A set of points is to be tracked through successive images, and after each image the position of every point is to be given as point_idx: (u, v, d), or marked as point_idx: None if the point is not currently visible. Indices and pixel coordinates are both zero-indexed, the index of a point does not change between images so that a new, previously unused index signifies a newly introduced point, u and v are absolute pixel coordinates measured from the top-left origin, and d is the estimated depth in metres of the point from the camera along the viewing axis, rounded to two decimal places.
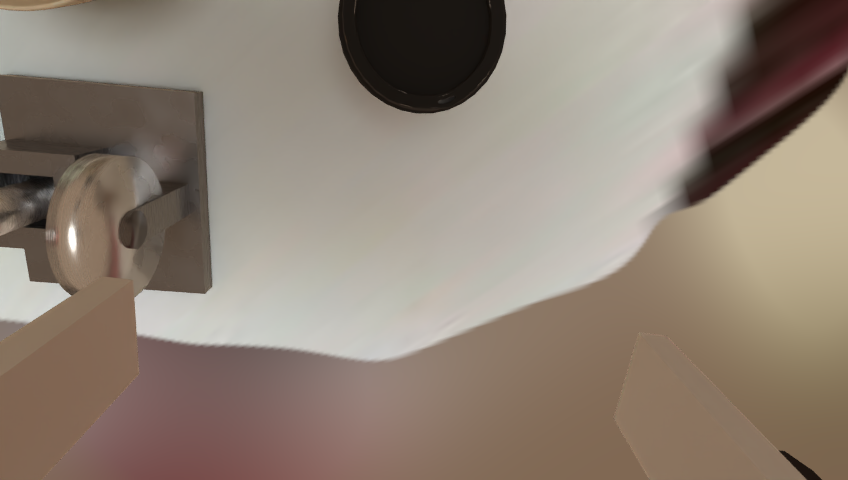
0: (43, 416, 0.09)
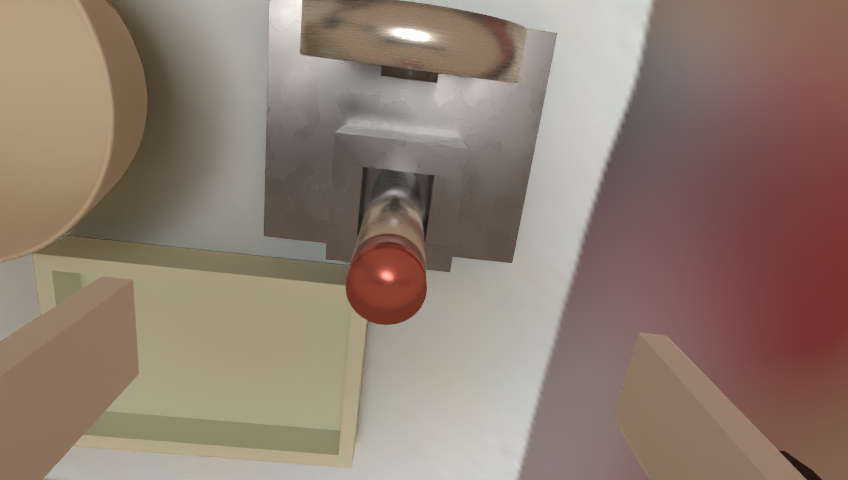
0: (43, 416, 0.09)
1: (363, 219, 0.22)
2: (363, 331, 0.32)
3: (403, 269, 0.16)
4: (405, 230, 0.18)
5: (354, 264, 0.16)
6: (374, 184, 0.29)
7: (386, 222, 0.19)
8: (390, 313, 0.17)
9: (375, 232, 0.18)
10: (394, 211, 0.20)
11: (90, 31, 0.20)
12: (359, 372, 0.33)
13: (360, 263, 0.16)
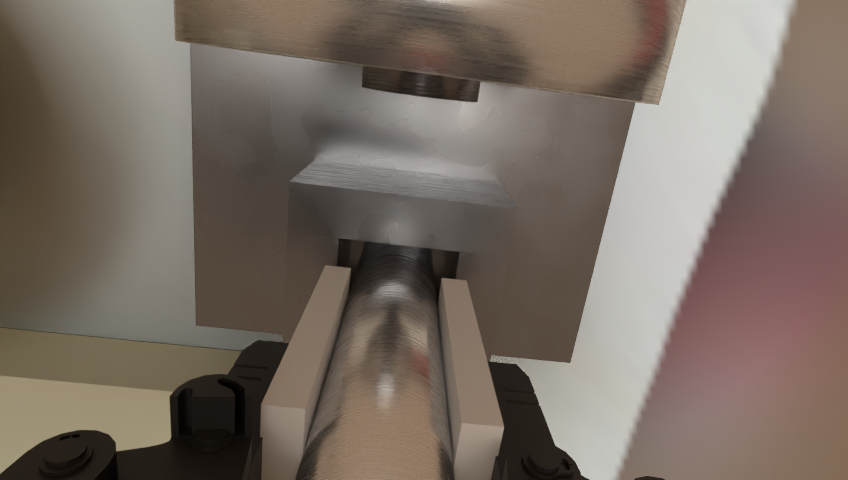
0: None
1: (330, 360, 0.12)
2: None
3: None
4: (410, 457, 0.08)
5: None
6: (361, 255, 0.18)
7: (368, 426, 0.08)
8: None
9: (337, 474, 0.07)
10: (388, 370, 0.10)
11: None
12: None
13: None
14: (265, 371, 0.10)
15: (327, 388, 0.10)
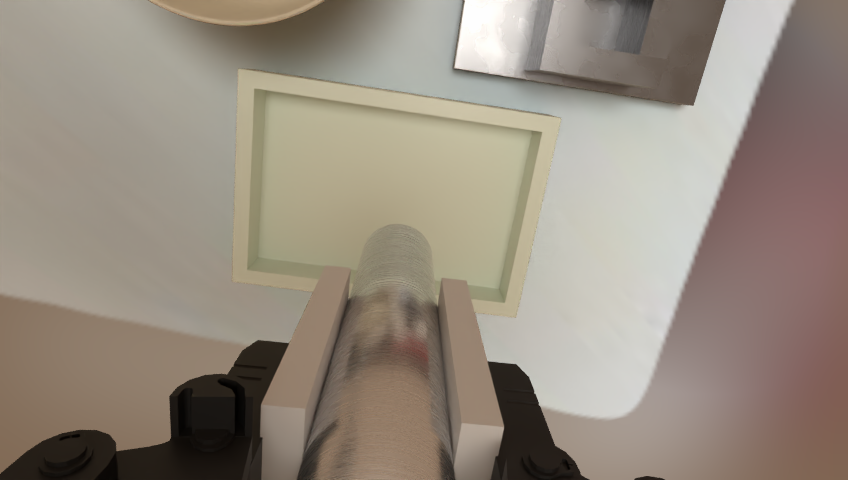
0: None
1: None
2: (548, 166, 0.32)
3: None
4: (411, 458, 0.08)
5: None
6: (361, 255, 0.18)
7: (369, 426, 0.08)
8: None
9: (337, 475, 0.07)
10: (388, 370, 0.10)
11: None
12: (538, 211, 0.33)
13: None
14: (265, 371, 0.10)
15: (328, 389, 0.10)
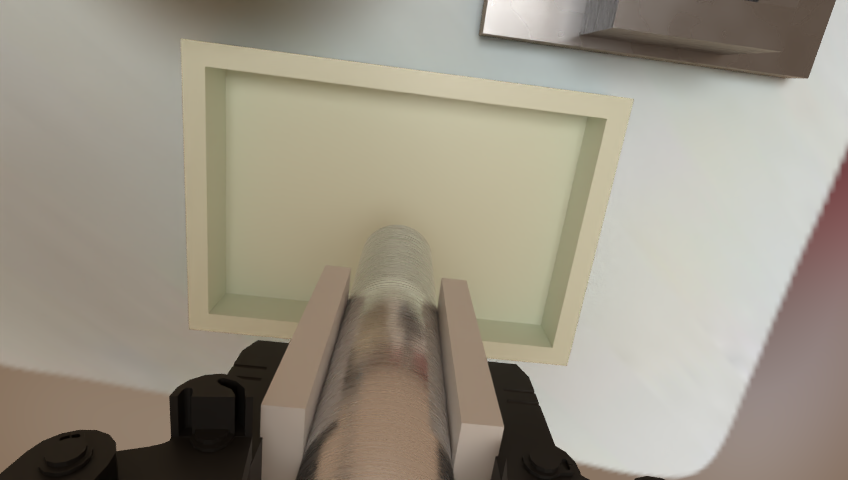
0: None
1: (330, 362, 0.12)
2: (614, 165, 0.23)
3: None
4: (410, 460, 0.08)
5: None
6: (361, 256, 0.18)
7: (367, 428, 0.08)
8: None
9: (337, 478, 0.07)
10: (387, 372, 0.10)
11: None
12: (599, 227, 0.24)
13: None
14: (265, 371, 0.10)
15: (327, 390, 0.10)
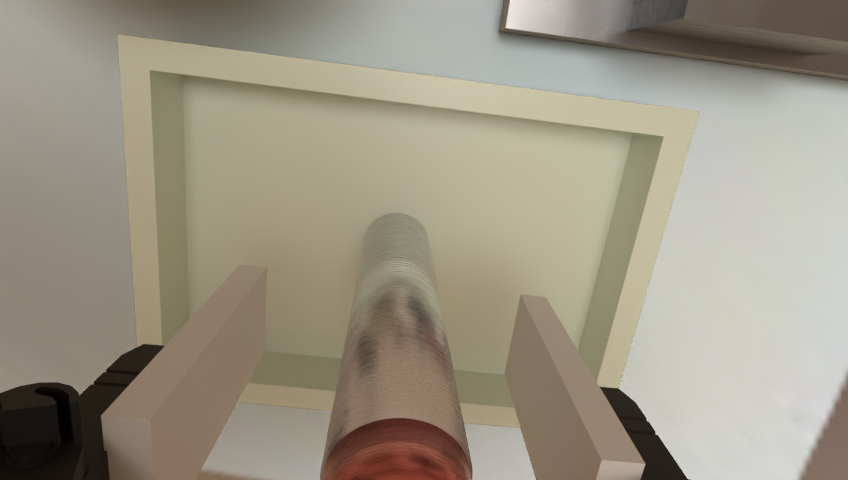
0: (224, 379, 0.11)
1: (348, 331, 0.13)
2: (671, 195, 0.18)
3: None
4: (429, 399, 0.09)
5: None
6: (364, 242, 0.20)
7: (392, 375, 0.10)
8: None
9: (371, 412, 0.09)
10: (403, 334, 0.11)
11: None
12: (649, 270, 0.19)
13: None
14: None
15: (350, 351, 0.12)
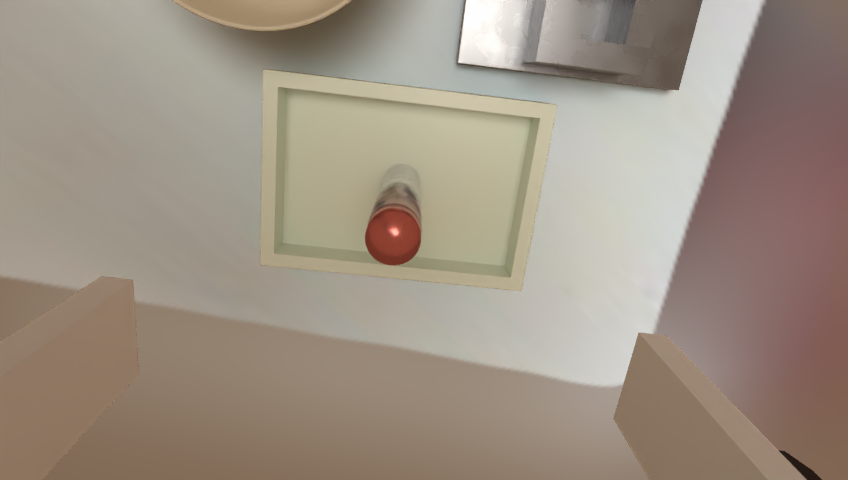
0: (43, 416, 0.09)
1: (376, 199, 0.30)
2: (546, 149, 0.35)
3: (404, 225, 0.24)
4: (406, 202, 0.26)
5: (371, 222, 0.24)
6: (384, 177, 0.36)
7: (393, 197, 0.26)
8: (396, 257, 0.24)
9: (385, 203, 0.25)
10: (399, 191, 0.28)
11: None
12: (539, 191, 0.36)
13: (375, 221, 0.24)
14: None
15: (377, 199, 0.28)
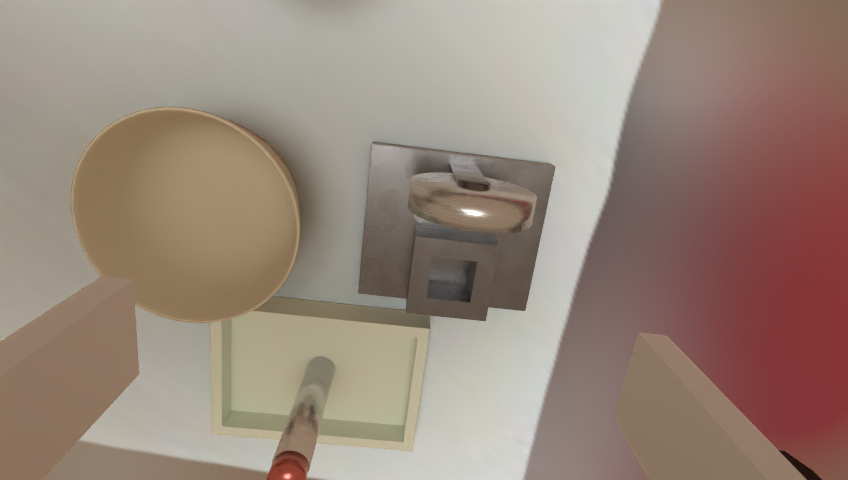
0: (43, 416, 0.09)
1: None
2: (424, 357, 0.47)
3: (292, 475, 0.35)
4: (299, 445, 0.38)
5: (270, 473, 0.35)
6: (305, 371, 0.48)
7: (292, 438, 0.38)
8: None
9: (284, 448, 0.37)
10: (299, 424, 0.40)
11: (292, 196, 0.35)
12: (420, 385, 0.48)
13: (272, 473, 0.35)
14: None
15: (285, 428, 0.40)
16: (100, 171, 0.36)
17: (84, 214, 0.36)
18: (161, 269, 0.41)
